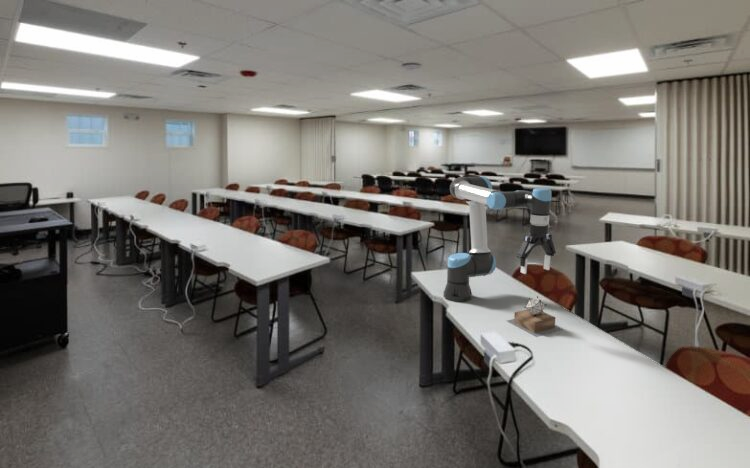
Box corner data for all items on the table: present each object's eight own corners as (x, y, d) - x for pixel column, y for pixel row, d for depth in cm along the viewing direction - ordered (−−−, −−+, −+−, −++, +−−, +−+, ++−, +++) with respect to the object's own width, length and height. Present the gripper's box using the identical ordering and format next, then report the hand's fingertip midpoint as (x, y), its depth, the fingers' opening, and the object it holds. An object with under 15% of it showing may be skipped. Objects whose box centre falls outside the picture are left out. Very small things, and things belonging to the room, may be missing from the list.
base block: (514, 322, 179) (514, 312, 178) (533, 317, 184) (534, 307, 183) (534, 333, 169) (535, 322, 168) (554, 327, 173) (555, 317, 172)
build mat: (505, 321, 181) (505, 320, 181) (531, 315, 188) (531, 314, 188) (536, 337, 165) (536, 336, 165) (563, 330, 172) (563, 329, 172)
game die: (538, 323, 175) (550, 311, 168) (520, 316, 175) (531, 304, 168) (538, 308, 181) (550, 296, 174) (520, 301, 182) (531, 288, 174)
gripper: (523, 228, 162) (519, 277, 166) (567, 223, 171) (562, 270, 176) (510, 225, 168) (507, 272, 173) (553, 220, 178) (549, 265, 183)
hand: (535, 271), depth 174 cm, fingers open, 13 cm apart
